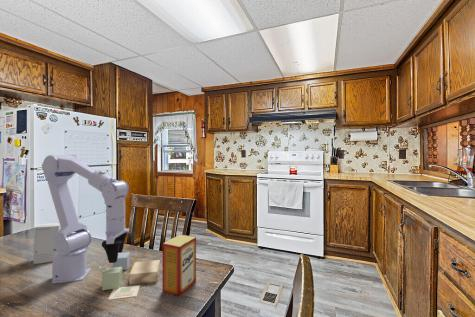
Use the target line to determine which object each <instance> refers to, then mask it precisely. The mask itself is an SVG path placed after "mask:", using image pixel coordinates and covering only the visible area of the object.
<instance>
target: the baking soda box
mask: <svg viewBox="0 0 475 317" xmlns="http://www.w3.org/2000/svg"><path fill="white" fill-rule="evenodd" d="M196 281H197V237H196V236H192V235H186V234H179V235H177V236H174V237H172V238H170V239H169V240H167V241H165V242H163V243H162V282H161V284H162V292H164V293H168V294H171V295H174V297H180V296H182V295H183V294H184V293H185V292H186V291H187V290H188V289H190V287H191V286H193V285H194V284H195V283H196Z"/></svg>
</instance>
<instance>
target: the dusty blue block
mask: <svg viewBox="0 0 475 317" xmlns="http://www.w3.org/2000/svg"><path fill="white" fill-rule="evenodd" d="M130 265H131V252H130V251H128V252H122V253H118V258H117V262H116V263H112V268H115V267H123V269H122V271H127V270H128V268H129V267H130Z"/></svg>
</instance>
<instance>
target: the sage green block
mask: <svg viewBox="0 0 475 317" xmlns="http://www.w3.org/2000/svg"><path fill="white" fill-rule="evenodd" d="M122 269H123V267H115V268H113V267H110V268H109V267H106V269H105V270H104V271H103V273H102V276H101V291H107V290H109V291H110V290H113V289H117V288H120V287H121V285H122V283H123V270H122Z"/></svg>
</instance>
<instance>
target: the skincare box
mask: <svg viewBox="0 0 475 317" xmlns="http://www.w3.org/2000/svg"><path fill="white" fill-rule="evenodd" d="M60 229H61V226H60V223H59V222H48V223H47V222H46V223H39V224H38V225H36V226H35V227H34V238H33V239H34V241H33V261H32V262H33V265H38V264H44V263H51V262H52V263H53V259H54V257H55V255H56V254H57V251H56V249H55V237H54V236H55V235H56V234H57V233H58V231H59V230H60Z"/></svg>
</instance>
